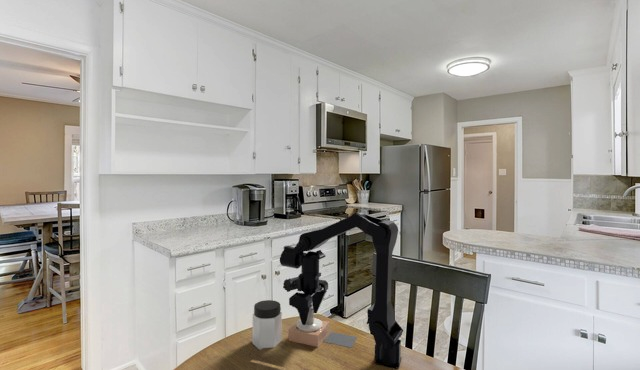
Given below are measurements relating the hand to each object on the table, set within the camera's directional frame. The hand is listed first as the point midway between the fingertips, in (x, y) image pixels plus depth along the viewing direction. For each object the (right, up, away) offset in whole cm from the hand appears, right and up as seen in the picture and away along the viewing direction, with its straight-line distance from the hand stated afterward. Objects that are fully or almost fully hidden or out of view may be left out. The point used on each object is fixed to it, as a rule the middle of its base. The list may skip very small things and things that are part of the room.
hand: (309, 318), depth 103 cm
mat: (+10, -7, -2) cm, 12 cm away
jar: (-13, -6, -3) cm, 15 cm away
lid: (0, -2, 0) cm, 2 cm away
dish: (0, -6, 0) cm, 6 cm away
